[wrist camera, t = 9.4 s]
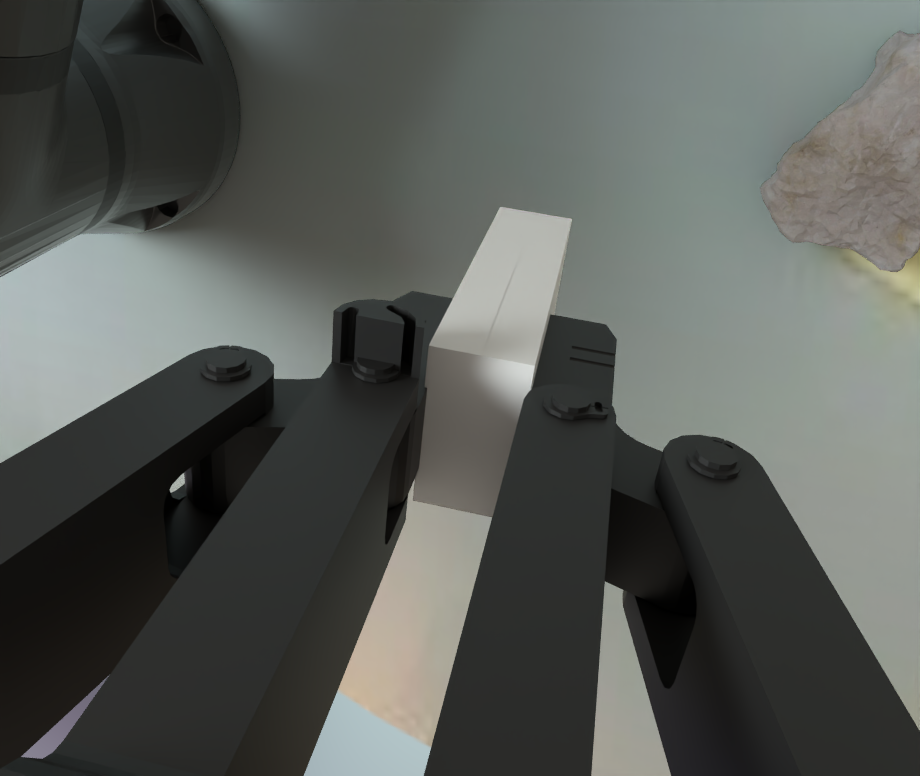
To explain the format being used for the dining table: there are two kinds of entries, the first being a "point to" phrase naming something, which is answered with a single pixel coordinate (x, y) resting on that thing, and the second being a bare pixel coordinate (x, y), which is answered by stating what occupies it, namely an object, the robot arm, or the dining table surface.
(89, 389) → the dining table surface
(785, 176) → the stone
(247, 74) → the dining table surface
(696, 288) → the dining table surface
